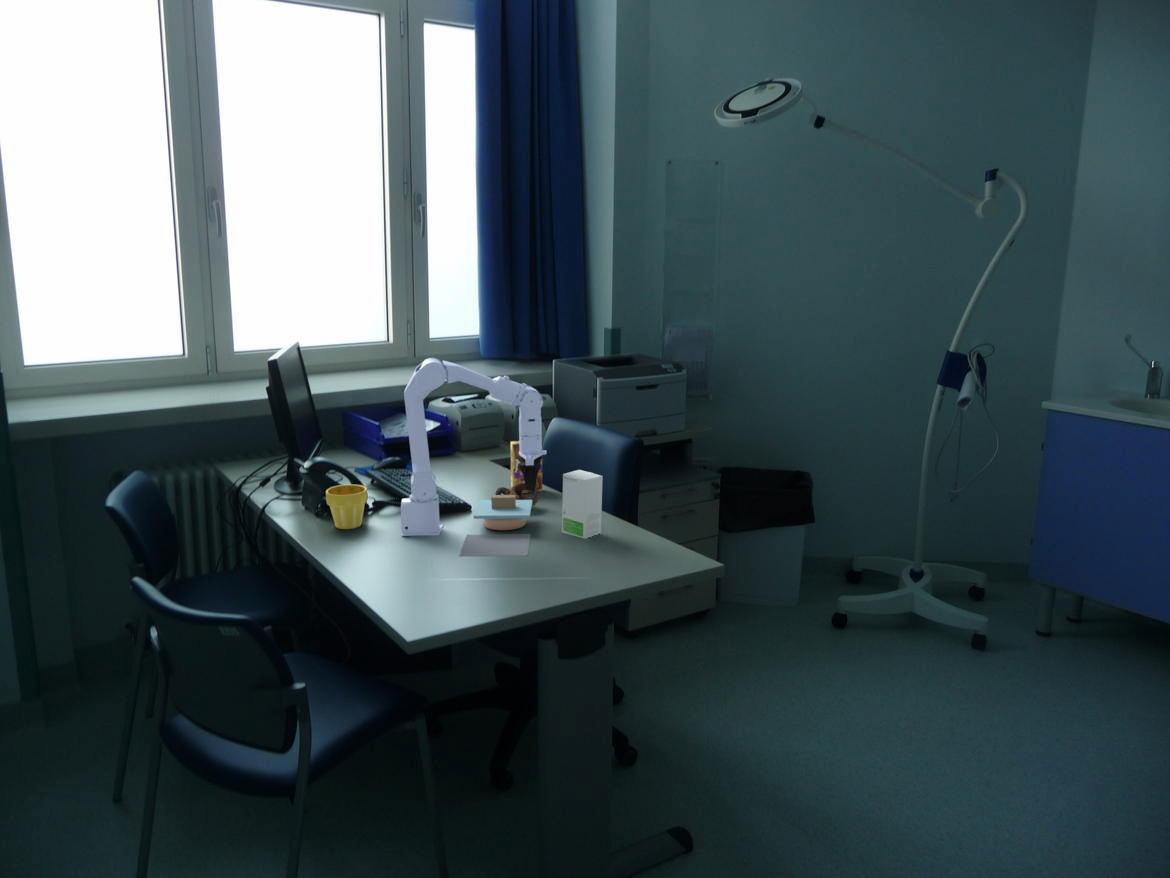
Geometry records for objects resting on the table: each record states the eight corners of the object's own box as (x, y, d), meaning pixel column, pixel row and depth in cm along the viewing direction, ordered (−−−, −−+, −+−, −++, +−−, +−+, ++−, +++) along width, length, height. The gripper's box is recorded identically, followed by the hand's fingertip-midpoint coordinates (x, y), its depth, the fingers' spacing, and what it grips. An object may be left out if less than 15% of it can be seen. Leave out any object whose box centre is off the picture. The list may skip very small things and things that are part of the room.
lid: (473, 518, 229) (473, 504, 228) (479, 503, 242) (479, 489, 242) (529, 518, 229) (529, 503, 228) (532, 502, 242) (532, 488, 242)
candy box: (512, 494, 267) (511, 443, 263) (510, 490, 271) (509, 440, 268) (542, 492, 269) (542, 442, 265) (540, 488, 273) (539, 438, 270)
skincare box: (561, 533, 231) (560, 473, 228) (579, 527, 236) (578, 468, 233) (585, 540, 226) (585, 479, 222) (603, 534, 230) (603, 474, 227)
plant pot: (363, 531, 234) (361, 494, 232) (323, 531, 234) (320, 494, 232) (372, 519, 244) (370, 484, 242) (334, 519, 244) (331, 484, 242)
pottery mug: (535, 503, 259) (542, 482, 254) (532, 527, 252) (539, 506, 247) (494, 494, 258) (500, 473, 253) (489, 517, 251) (495, 496, 246)
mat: (459, 557, 214) (459, 556, 214) (466, 536, 230) (466, 534, 229) (527, 557, 214) (527, 555, 214) (530, 535, 230) (530, 533, 230)
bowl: (481, 534, 231) (480, 517, 230) (485, 521, 242) (485, 504, 241) (525, 533, 231) (524, 516, 230) (527, 520, 242) (526, 504, 241)
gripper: (545, 440, 226) (546, 493, 229) (546, 428, 241) (547, 478, 243) (516, 440, 226) (518, 493, 229) (520, 429, 241) (521, 479, 243)
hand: (531, 486), depth 236 cm, fingers open, 7 cm apart
